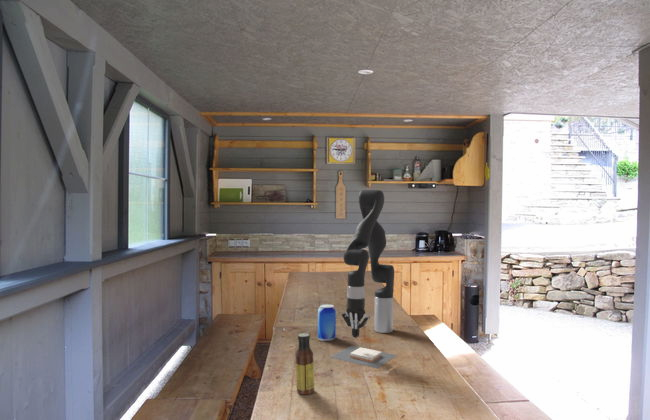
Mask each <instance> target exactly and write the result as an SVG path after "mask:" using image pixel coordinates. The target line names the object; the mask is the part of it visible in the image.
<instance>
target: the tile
mask: <svg viewBox="0 0 650 420" xmlns="http://www.w3.org/2000/svg"><path fill="white" fill-rule="evenodd" d="M381 356H382V351H379V350H374V349H371V348H370V349H369V348H365V347H360V348H358V349H357V350H355V351H353V352H351V353H350V358H354V359H359V360H363V361H368V362H373V361H375V360H376V359H378V358H379V357H381Z"/></svg>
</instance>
